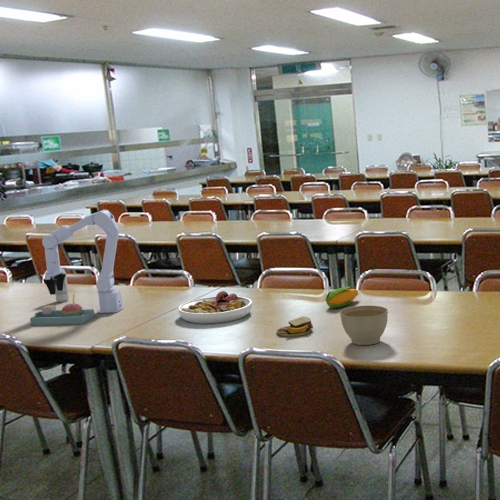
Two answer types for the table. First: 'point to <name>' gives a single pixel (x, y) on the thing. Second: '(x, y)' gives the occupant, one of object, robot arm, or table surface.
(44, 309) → the tin
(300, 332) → the toy sandwich meal
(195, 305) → the bowl
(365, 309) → the planter bowl
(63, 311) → the donut with candle
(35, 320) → the tray
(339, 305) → the corn
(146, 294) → the table surface
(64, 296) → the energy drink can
